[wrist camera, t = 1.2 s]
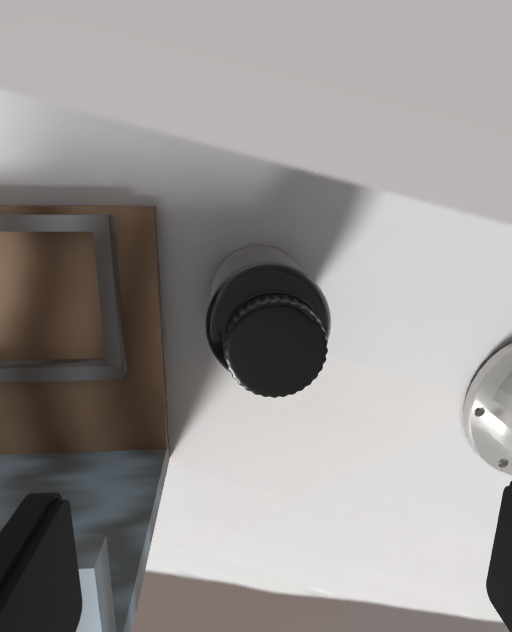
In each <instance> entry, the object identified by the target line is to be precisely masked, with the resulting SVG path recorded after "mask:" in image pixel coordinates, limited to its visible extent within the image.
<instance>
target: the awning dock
mask: <svg viewBox="0 0 512 632" xmlns="http://www.w3.org/2000/svg"><path fill="white" fill-rule="evenodd" d="M168 463H169V442H168V425H167V407H166V389H165V372H164V354H163V336H162V319H161V301H160V283H159V266H158V248H157V230H156V213H155V206H0V532H1V530H2V529H3V528H4V526H5V525H6V523H7V522H8V520H9V519H10V518H11V516H12V515H13V513H14V512H15V511H16V509H17V508H18V506H19V505H20V503H21V502H22V501H23V499H24V498H25V497H26V496H27V495H28V494H30V493H49V492H58V493H60V495H61V497H62V500H68V501H69V502H70V508H71V515H72V523H73V531H74V539H75V546H76V554H77V562H78V569H79V577H80V585H81V593H82V603H83V604H82V613H81V618H80V621H79V624H78V627H77V630H76V632H132V628H133V623H134V618H135V614H136V610H137V605H138V600H139V596H140V591H141V586H142V582H143V577H144V573H145V568H146V564H147V559H148V554H149V550H150V545H151V541H152V536H153V532H154V527H155V522H156V518H157V513H158V509H159V504H160V499H161V495H162V490H163V486H164V481H165V476H166V472H167V467H168Z"/></svg>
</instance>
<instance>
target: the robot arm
mask: <svg viewBox="0 0 512 632" xmlns="http://www.w3.org/2000/svg"><path fill="white" fill-rule="evenodd" d="M463 424H464V428H465V433H466V436H467V438H468V440H469V442H470V445H471V446H472V448H473V449H474V450H475V451H476V453H477V454H478V455H479V456H480V457H481V458H482V459H483V460H484V461H485V462H486V463H487V464H489V465H490V466H491V467H493V468H495V469H496V470H498V471H500V472H503V473H506V474H509V475H512V343H510V344H509V345H507V346H505V347H503V348H502V349H501V350H500V351H498V352H497V353H496V354H495V355H493V356H492V357H491V358H490V359H489V360H488V361H487V362H486V363H485V365H484V366H483V367H482V368H481V369H480V370H479V372H478V374H477V375H476V377H475V378H474V380H473V382H472V383H471V386H470V388H469V391H468V393H467V395H466V399H465V404H464V409H463ZM486 588H487V593H488V596H489V599H490V601H491V603H492V604H493V606H494V608H495V609H496V611H497V612H498V614H499V615H500V617H501V618H502V620H503V621H504V623H505V625H506V626H507V628H508V629H509V631H510V632H512V481H511V482H510V485H509V486H507V487H506V488H505V489H504V491H503V496H502V501H501V507H500V512H499V517H498V523H497V528H496V533H495V539H494V544H493V549H492V555H491V560H490V565H489V571H488V576H487V581H486ZM82 604H83V603H82V593H81V585H80V577H79V569H78V562H77V554H76V546H75V539H74V531H73V523H72V515H71V508H70V502H69V501H68V500H62V497H61V495H60V493H58V492H49V493H30V494H28V495H27V496H26V497H25V498H24V499H23V501H22V502H21V503H20V505H19V506H18V508H17V509H16V511H15V512H14V513H13V515H12V516H11V518H10V519H9V520H8V522H7V523H6V525H5V526H4V528H3V529H2V530H1V532H0V632H76V630H77V627H78V624H79V621H80V618H81V613H82Z"/></svg>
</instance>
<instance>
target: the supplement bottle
mask: <svg viewBox="0 0 512 632" xmlns="http://www.w3.org/2000/svg"><path fill="white" fill-rule="evenodd" d="M330 328H331V316H330V310H329V306H328V303H327V300H326V298H325V296H324V294H323V292H322V291H321V289H320V288H319V286H318V285H317V284H316V283H315V281H314V280H313V279H312V278H311V277H310V276H309V275H308V274H307V273H306V272H305V271H304V270H303V269H302V268H301V267H300V266H299V265H298V264H297V263H296V262H295V261H294V260H293V259H292V258H291V257H289V256H288V255H287V254H285V253H284V252H282V251H280V250H278V249H275V248H272V247H268V246H250V247H246V248H243V249H240V250H238V251H236V252H234V253H233V254H231V255H230V256H229V257H227V258H226V259H225V260H224V261H223V262H222V264H221V265H220V266H219V268H218V269H217V271H216V273H215V275H214V278H213V281H212V285H211V290H210V296H209V302H208V308H207V314H206V334H207V339H208V343H209V345H210V348H211V350H212V352H213V354H214V356H215V357H216V359H217V360H218V361H219V363H220V364H221V365H222V366H223V367H224V368H225V369H226V370H228V371H229V372H230V373H232V377H233V378H235V379H236V380H237V381H238V383H239V385H241V386H244V387H245V389H246V390H248V391H252V392H253V393H254V394H256V395H262V396H264V397H268V396H270V397H273V398H275V397H278V396H281V397H285V396H287V395H291V394H295V393H296V392H297V391H301V390H303V389H304V388H305V386H308V385H310V384H311V382H312V380H314V379H315V378H317V376H318V373H319V372H320V371H321V370H322V368H323V364H324V363H325V361H326V357H325V356H326V354H327V352H328V349H327V347H326V346H327V342H328V339H329V335H330Z"/></svg>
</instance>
